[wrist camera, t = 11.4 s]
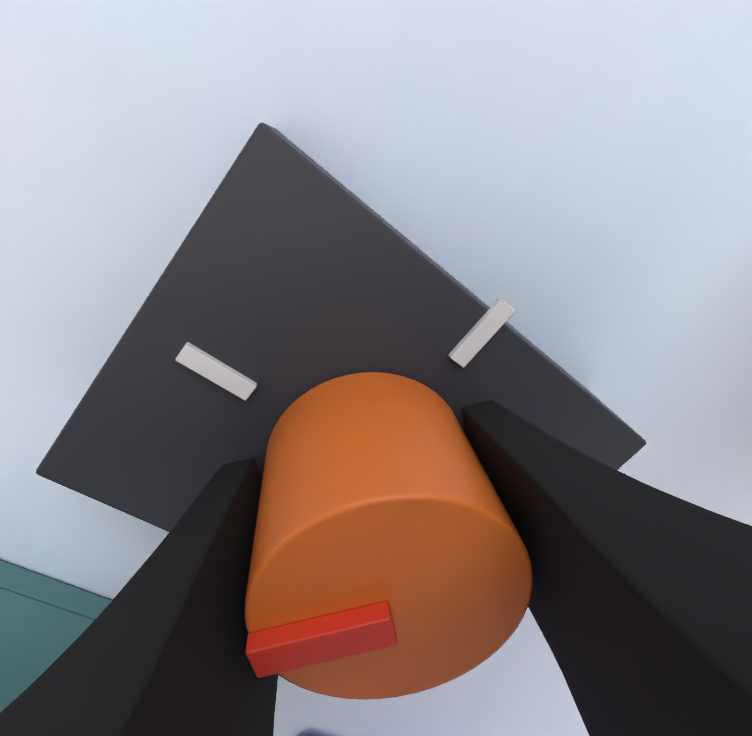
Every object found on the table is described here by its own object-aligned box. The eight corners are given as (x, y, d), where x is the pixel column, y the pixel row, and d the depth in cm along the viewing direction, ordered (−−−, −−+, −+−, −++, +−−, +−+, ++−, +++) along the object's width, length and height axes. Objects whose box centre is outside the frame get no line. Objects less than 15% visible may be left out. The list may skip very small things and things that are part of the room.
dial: (451, 349, 9) (542, 480, 5) (470, 510, 11) (547, 685, 7) (240, 396, 9) (194, 559, 5) (294, 550, 10) (287, 748, 7)
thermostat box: (597, 382, 13) (664, 438, 10) (401, 573, 15) (418, 656, 12) (281, 112, 9) (271, 100, 7) (83, 416, 11) (21, 491, 9)
